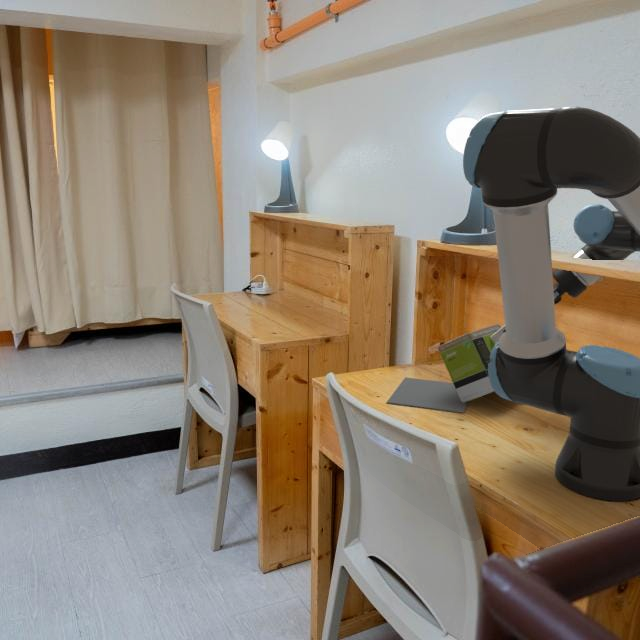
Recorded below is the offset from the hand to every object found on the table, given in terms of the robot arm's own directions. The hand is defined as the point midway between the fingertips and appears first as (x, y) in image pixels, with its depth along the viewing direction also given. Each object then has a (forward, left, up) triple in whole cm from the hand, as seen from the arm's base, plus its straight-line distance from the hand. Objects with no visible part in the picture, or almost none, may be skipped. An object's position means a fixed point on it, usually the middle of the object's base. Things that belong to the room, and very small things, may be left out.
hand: (494, 341), depth 148 cm
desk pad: (-1, +14, -15) cm, 20 cm away
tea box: (-1, -1, -12) cm, 12 cm away
